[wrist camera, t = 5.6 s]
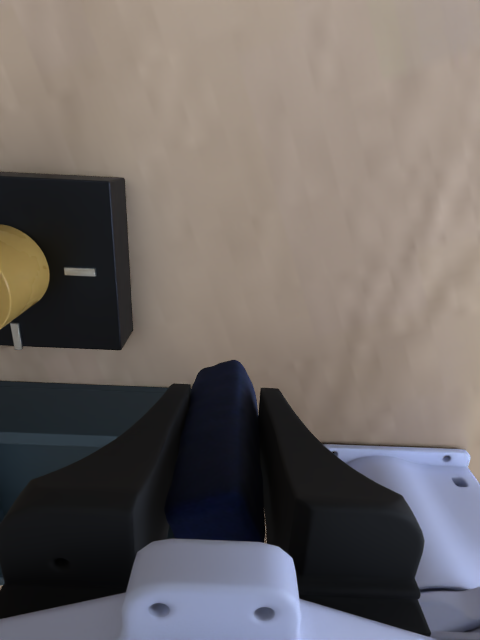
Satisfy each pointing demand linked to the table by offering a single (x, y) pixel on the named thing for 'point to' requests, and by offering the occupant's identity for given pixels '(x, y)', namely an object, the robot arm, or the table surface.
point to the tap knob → (20, 273)
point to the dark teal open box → (60, 428)
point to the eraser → (219, 461)
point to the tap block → (72, 259)
